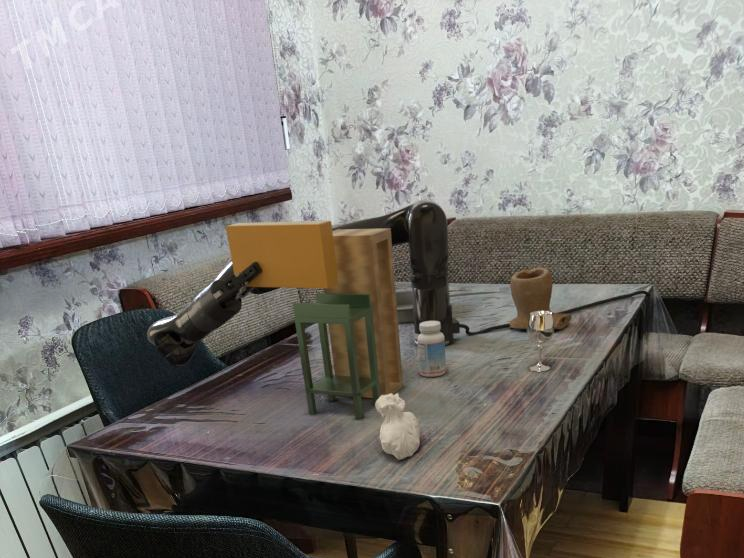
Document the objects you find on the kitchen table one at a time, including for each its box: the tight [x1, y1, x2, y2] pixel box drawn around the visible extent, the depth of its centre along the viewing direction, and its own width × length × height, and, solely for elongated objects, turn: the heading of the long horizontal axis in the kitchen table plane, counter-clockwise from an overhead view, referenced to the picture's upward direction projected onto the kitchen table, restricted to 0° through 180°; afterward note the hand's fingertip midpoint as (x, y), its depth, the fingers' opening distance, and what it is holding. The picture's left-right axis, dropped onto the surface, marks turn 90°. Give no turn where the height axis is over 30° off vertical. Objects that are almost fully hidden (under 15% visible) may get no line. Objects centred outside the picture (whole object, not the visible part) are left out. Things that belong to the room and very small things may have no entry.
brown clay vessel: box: [508, 267, 572, 330], centre depth 181 cm, size 15×12×15 cm
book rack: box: [292, 292, 381, 420], centre depth 139 cm, size 12×9×22 cm
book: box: [225, 220, 338, 290], centre depth 134 cm, size 21×4×11 cm, turn 64°
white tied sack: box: [374, 392, 421, 461], centre depth 122 cm, size 12×8×11 cm
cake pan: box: [396, 289, 414, 324], centre depth 209 cm, size 25×25×4 cm
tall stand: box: [323, 228, 404, 399], centre depth 145 cm, size 12×8×32 cm, turn 64°
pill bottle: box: [417, 321, 447, 378], centre depth 157 cm, size 6×6×11 cm
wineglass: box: [526, 310, 555, 372], centre depth 154 cm, size 6×6×12 cm
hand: (265, 264), depth 136 cm, fingers closed on book, 4 cm apart
